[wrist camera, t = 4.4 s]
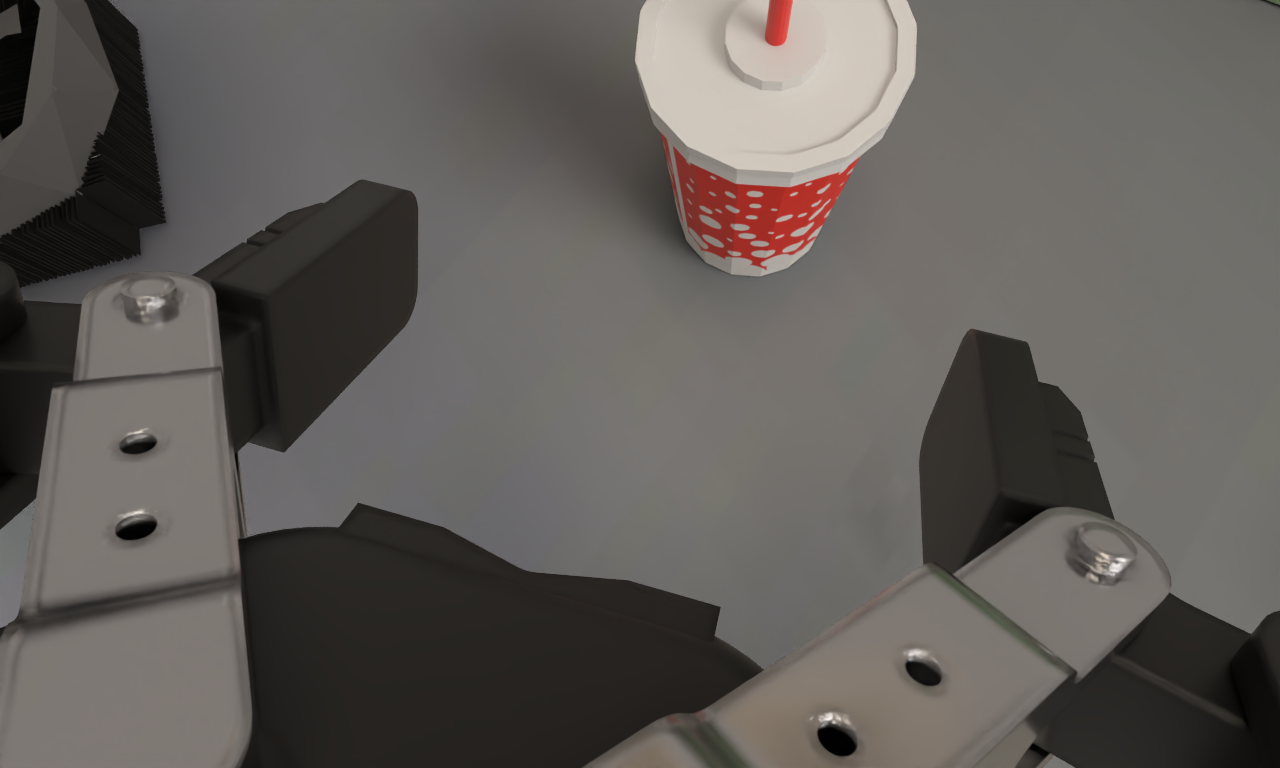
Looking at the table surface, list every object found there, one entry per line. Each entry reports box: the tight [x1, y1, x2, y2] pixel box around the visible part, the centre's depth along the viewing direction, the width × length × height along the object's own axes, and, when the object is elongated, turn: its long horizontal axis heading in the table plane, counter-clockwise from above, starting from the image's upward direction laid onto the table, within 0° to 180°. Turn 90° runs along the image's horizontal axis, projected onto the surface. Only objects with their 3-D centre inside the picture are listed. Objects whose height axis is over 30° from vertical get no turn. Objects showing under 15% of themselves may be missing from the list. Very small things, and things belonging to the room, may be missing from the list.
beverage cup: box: [635, 0, 917, 277], centre depth 21 cm, size 6×6×14 cm
